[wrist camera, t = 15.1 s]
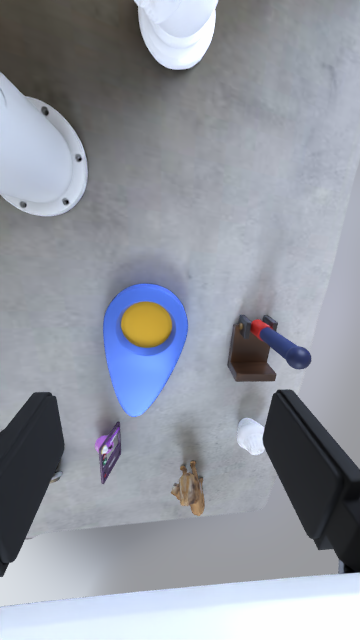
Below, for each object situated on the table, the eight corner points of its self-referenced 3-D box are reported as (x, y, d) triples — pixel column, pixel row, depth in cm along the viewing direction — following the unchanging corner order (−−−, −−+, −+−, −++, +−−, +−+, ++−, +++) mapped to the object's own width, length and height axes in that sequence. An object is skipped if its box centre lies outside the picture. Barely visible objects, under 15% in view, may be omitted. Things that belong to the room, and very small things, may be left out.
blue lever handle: (296, 352, 25) (291, 373, 26) (318, 352, 25) (313, 373, 26) (249, 318, 38) (247, 333, 39) (265, 319, 38) (262, 334, 39)
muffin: (236, 437, 50) (248, 468, 43) (228, 418, 48) (238, 447, 41) (262, 427, 49) (278, 457, 43) (255, 407, 47) (271, 435, 41)
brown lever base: (234, 314, 39) (244, 325, 34) (273, 315, 40) (288, 326, 35) (227, 365, 43) (235, 381, 38) (262, 365, 43) (274, 381, 39)
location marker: (167, 408, 46) (193, 290, 37) (168, 421, 42) (196, 296, 33) (100, 402, 44) (110, 276, 35) (96, 415, 41) (105, 280, 32)
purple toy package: (106, 485, 42) (104, 451, 39) (82, 477, 43) (78, 443, 40) (124, 454, 48) (123, 422, 45) (102, 448, 49) (100, 416, 46)
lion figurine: (167, 458, 50) (168, 503, 42) (189, 449, 50) (194, 493, 42) (193, 495, 56) (198, 541, 47) (212, 487, 55) (222, 533, 47)
